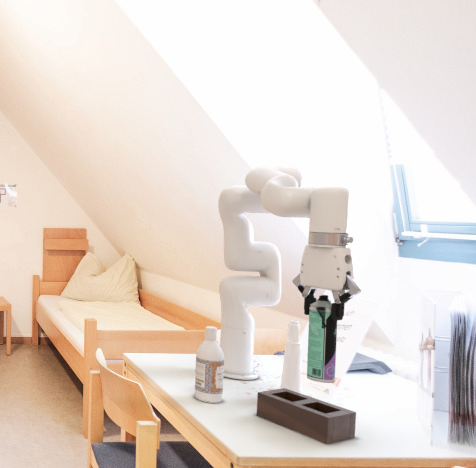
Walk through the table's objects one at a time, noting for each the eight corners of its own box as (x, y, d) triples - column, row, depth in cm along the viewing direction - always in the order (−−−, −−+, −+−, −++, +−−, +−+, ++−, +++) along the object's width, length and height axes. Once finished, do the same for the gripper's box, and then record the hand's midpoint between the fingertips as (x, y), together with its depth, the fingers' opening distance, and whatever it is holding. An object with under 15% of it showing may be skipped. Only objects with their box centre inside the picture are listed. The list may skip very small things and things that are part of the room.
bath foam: (212, 405, 142) (216, 331, 141) (189, 397, 148) (192, 326, 147) (227, 400, 146) (230, 328, 145) (203, 392, 151) (206, 323, 150)
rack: (283, 410, 139) (284, 387, 139) (354, 437, 123) (356, 412, 122) (256, 415, 135) (257, 392, 135) (326, 444, 119) (328, 417, 119)
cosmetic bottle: (287, 403, 144) (291, 323, 143) (273, 395, 151) (276, 318, 149) (308, 403, 145) (312, 323, 144) (293, 395, 151) (297, 318, 150)
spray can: (338, 384, 122) (341, 297, 121) (310, 381, 124) (313, 295, 123) (330, 377, 127) (333, 294, 126) (304, 374, 129) (307, 292, 128)
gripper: (378, 243, 117) (373, 324, 118) (302, 237, 133) (298, 309, 134) (356, 243, 114) (351, 326, 116) (281, 238, 130) (277, 311, 131)
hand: (323, 316), depth 125 cm, fingers closed on spray can, 5 cm apart
